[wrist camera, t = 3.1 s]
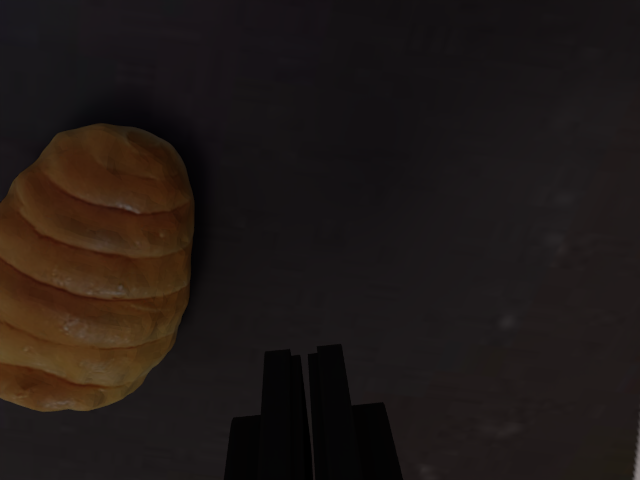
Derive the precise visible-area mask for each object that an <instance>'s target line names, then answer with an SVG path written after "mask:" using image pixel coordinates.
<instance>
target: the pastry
mask: <svg viewBox="0 0 640 480" xmlns="http://www.w3.org/2000/svg"><path fill="white" fill-rule="evenodd" d="M194 208H195V207H194V197H193V192H192V189H191V186H190V183H189V179H188V175H187V171H186V167H185V164H184V162H183V160H182V158H181V157H180V155H179V154H178V152H177V151H176V150H175V148H174V147H173V146H172V145H171V144H170V143H169V142H167V141H165V140H163V139H161V138H159V137H157V136H155V135H153V134H152V133H150V132H147V131H145V130H142V129H139V128H135V127H126V126H116V125H110V124H104V123H98V124H93V125H89V126H85V127H81V128H78V129H73V130H68V131H64V132H60V133H58V134H57V135H56V136H54V138H53V139H52V141H51V142H50V144H49V145H48V146H47V147H46V148H45V149H44V150H43V152H42V153H41V155H40V157H39V158H38V159H37V160H36V161H35V162H34V163H33V164H32V165H31V166H29V167H28V168H27V169H25V170H24V171H22V172H21V173H20V174H19V175H18V177H16V178H15V180H14V181H13V182H12V185H11V187H10V189H9V191H8V194H7V196H6V197H5V198H4V199H3V201H2V202H1V203H0V398H2V399H4V400H6V401H10V402H13V403H16V404H18V405H21V406H24V407H27V408H31V409H34V410H38V411H43V412H45V411H58V410H64V409H73V410H78V411H89V410H92V409H96V408H99V407H103V406H107V405H109V404H112V403H114V402H116V401H118V400H121V399H123V398H124V397H125V396H127V395H128V394H130V393H132V392H133V391H135V390H136V389H137V388H138V387H139V386H140V385H141V384H142V383H143V381H144V379H145V377H146V376H147V374H148V373H149V371H150V370H151V369H152V368H153V367H154V366H156V365H158V364H159V362H160V361H161V360H162V359H163V358H164V357H165V355H166V354H167V353H168V352H169V351H170V350H171V348H172V346H173V345H174V343H175V341H176V335H177V329H178V325H179V324H180V322H181V318H182V315H183V313H184V311H185V309H186V307H187V305H188V301H189V293H190V277H191V250H192V245H193V233H194Z"/></svg>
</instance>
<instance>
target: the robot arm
mask: <svg viewBox="0 0 640 480" xmlns="http://www.w3.org/2000/svg"><path fill="white" fill-rule="evenodd" d="M317 352H318V353H314V354H308V365H309V382H310V398H311V414H312V431H313V447H314V463H315V480H403V478H402V474H401V469H400V465H399V461H398V457H397V453H396V449H395V445H394V441H393V437H392V433H391V429H390V424H389V420H388V416H387V412H386V409H385V405H384V403H383V402H382V403H372V404H363V405H353V406H351V400H350V394H349V388H348V382H347V376H346V369H345V363H344V357H343V351H342V345H341V344H337V345H327V346H317ZM224 480H313V471H312V455H311V444H310V435H309V426H308V417H307V409H306V400H305V392H304V383H303V374H302V366H301V357H300V355H294V356H291V352H290V349H287V350H276V351H266V352H265V356H264V373H263V389H262V405H261V415H255V416H245V417H235V418H233V420H232V423H231V429H230V437H229V444H228V452H227V460H226V467H225V475H224Z"/></svg>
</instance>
